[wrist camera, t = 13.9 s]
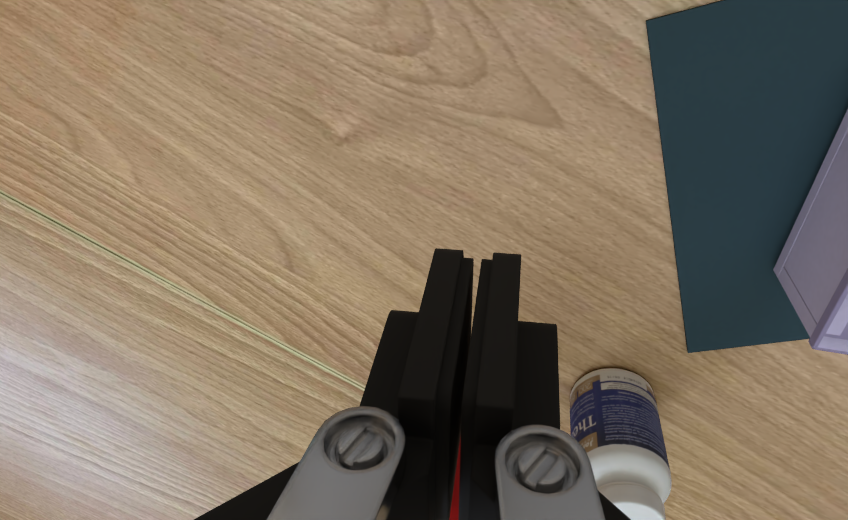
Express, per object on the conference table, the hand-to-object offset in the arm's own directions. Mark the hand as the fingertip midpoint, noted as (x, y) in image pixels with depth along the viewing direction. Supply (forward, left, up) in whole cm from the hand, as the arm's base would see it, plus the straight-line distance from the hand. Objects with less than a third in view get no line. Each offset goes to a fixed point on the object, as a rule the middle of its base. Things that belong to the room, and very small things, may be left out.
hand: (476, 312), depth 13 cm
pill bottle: (+24, +1, -22) cm, 32 cm away
